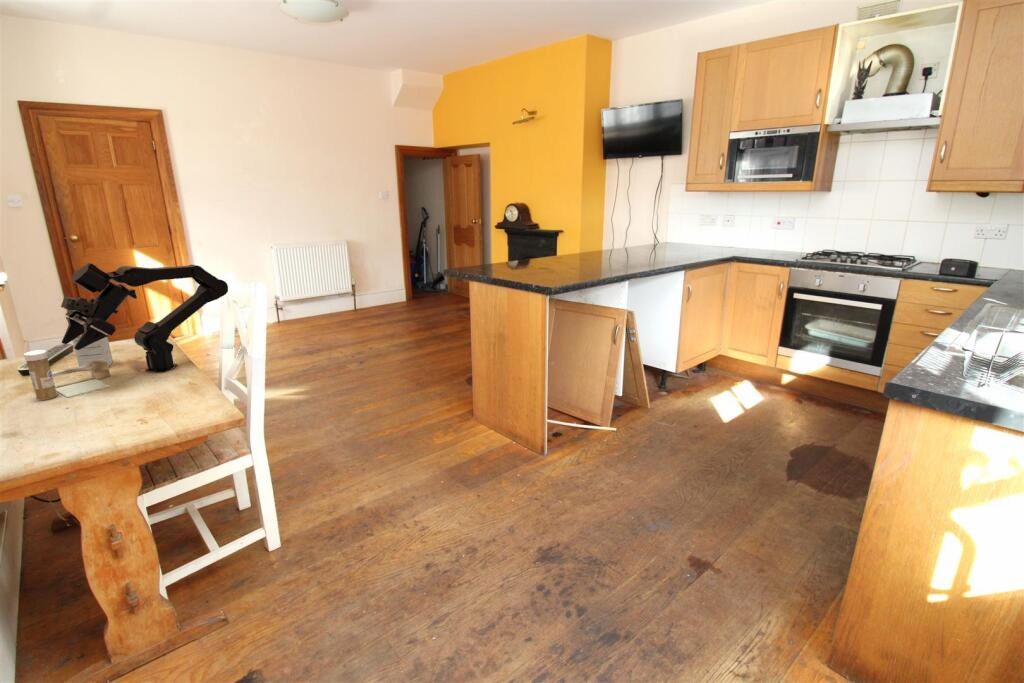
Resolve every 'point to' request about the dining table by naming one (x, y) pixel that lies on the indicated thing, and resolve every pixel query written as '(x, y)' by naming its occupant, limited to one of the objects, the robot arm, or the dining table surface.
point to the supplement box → (93, 352)
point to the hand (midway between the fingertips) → (69, 346)
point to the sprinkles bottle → (40, 374)
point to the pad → (82, 388)
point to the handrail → (97, 369)
